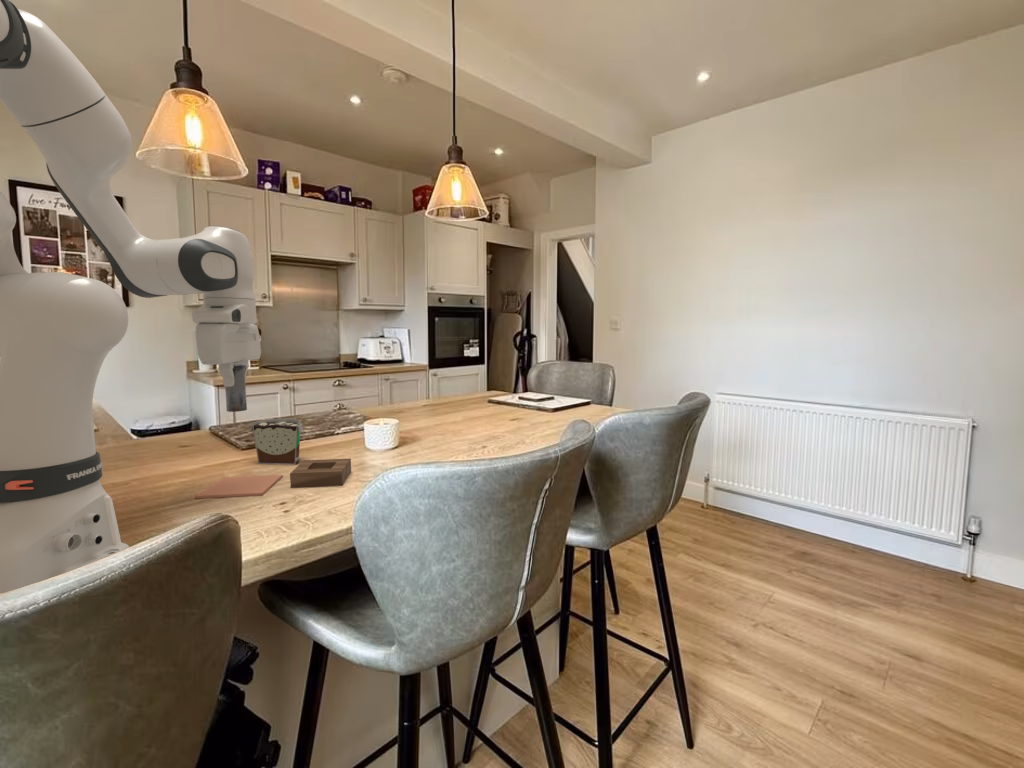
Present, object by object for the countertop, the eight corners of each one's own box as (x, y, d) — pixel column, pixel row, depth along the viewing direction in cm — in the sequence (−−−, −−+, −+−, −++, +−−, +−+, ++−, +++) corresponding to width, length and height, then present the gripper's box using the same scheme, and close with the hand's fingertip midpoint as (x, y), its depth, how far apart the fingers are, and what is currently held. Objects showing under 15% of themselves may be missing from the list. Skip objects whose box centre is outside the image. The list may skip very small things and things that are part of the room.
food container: (314, 458, 121) (312, 418, 120) (301, 464, 115) (299, 423, 114) (267, 457, 122) (265, 417, 121) (252, 463, 116) (249, 422, 115)
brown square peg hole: (342, 485, 99) (341, 471, 99) (290, 487, 98) (289, 473, 98) (351, 471, 109) (350, 458, 109) (304, 473, 108) (304, 460, 108)
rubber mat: (262, 495, 94) (262, 492, 94) (195, 498, 92) (195, 496, 92) (282, 476, 105) (282, 474, 105) (223, 479, 104) (223, 477, 104)
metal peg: (244, 411, 95) (241, 360, 94) (220, 412, 94) (216, 361, 93) (252, 408, 99) (249, 359, 98) (229, 408, 99) (226, 359, 98)
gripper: (236, 316, 105) (240, 380, 106) (186, 312, 85) (192, 391, 86) (267, 316, 106) (270, 379, 107) (225, 312, 85) (230, 390, 87)
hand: (235, 385), depth 96 cm, fingers closed on metal peg, 3 cm apart
